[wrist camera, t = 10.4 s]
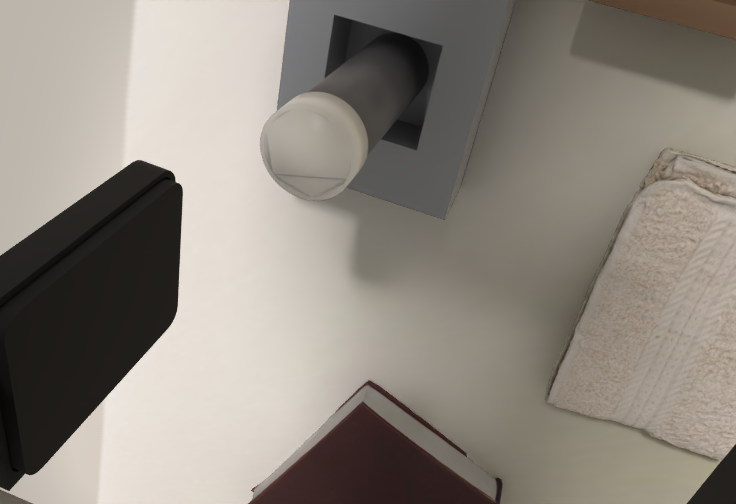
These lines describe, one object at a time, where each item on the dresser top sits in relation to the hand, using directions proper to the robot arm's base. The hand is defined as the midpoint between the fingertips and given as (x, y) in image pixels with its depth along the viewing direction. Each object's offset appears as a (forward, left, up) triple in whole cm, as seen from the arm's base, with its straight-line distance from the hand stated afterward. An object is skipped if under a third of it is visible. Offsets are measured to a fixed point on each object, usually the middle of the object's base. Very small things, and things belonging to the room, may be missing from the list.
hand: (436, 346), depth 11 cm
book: (+39, -3, -28) cm, 48 cm away
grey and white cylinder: (+5, -7, -26) cm, 28 cm away
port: (+5, -7, -27) cm, 29 cm away
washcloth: (+14, +12, -28) cm, 33 cm away
